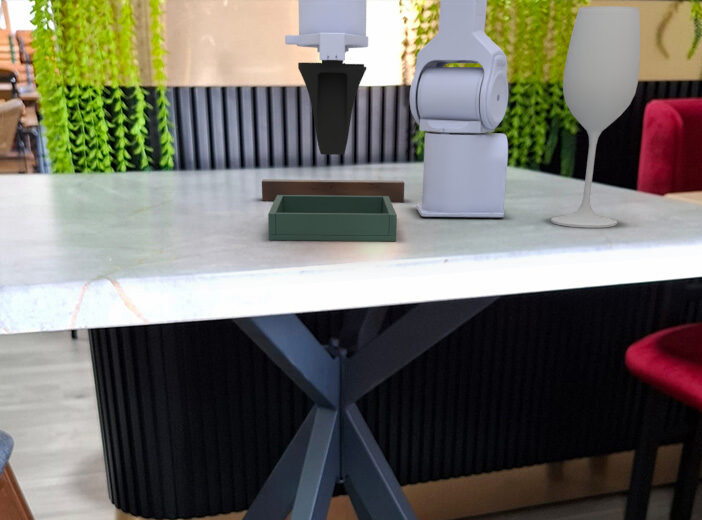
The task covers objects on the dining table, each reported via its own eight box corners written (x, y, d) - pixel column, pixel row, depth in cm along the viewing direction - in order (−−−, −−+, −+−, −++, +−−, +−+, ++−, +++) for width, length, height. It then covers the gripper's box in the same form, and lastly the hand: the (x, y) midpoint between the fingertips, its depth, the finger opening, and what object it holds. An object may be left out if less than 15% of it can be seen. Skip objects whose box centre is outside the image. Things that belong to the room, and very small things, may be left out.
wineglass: (585, 230, 95) (611, 4, 86) (534, 220, 101) (555, 8, 92) (633, 224, 99) (663, 8, 90) (582, 215, 104) (606, 11, 95)
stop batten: (402, 200, 116) (403, 180, 114) (403, 202, 114) (404, 182, 113) (263, 198, 115) (262, 179, 114) (262, 200, 113) (261, 180, 112)
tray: (388, 219, 100) (388, 196, 99) (395, 241, 87) (396, 214, 86) (277, 218, 100) (276, 194, 99) (268, 240, 87) (268, 213, 86)
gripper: (288, -17, 81) (291, 145, 86) (279, -34, 67) (283, 158, 73) (366, -16, 81) (364, 146, 87) (372, -33, 68) (369, 159, 73)
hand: (332, 151), depth 80 cm, fingers open, 5 cm apart
